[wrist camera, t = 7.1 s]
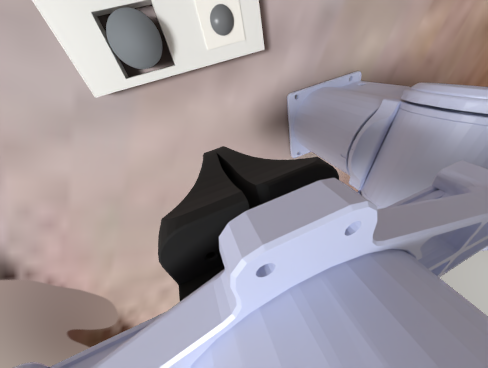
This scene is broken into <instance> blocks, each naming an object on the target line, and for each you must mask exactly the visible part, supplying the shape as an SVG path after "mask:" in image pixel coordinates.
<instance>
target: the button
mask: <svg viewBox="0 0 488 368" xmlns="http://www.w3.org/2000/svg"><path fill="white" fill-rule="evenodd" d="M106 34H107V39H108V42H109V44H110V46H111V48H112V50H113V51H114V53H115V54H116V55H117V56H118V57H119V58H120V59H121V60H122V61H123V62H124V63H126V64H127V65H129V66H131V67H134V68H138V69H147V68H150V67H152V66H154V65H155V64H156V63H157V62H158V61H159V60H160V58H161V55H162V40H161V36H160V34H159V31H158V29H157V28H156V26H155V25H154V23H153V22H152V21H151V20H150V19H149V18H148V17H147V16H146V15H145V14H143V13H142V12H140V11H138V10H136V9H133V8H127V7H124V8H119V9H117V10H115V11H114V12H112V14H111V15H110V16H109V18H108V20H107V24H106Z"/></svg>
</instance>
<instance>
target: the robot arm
mask: <svg viewBox="0 0 488 368" xmlns="http://www.w3.org/2000/svg"><path fill="white" fill-rule="evenodd" d="M349 78H350V79H349ZM296 94H297V97H296V99H295V95H296ZM287 106H288V121H289V136H290V150H291V156H292V157H293V158H296V157H299V156H301V155H304V154H306V153H309V152H313V153H315V154H316V155H318V156H319V157H321V158H322V159H324V160H326V161H327V162H329V163H330V164H332V165H334V166H335V167H337V168H338V169H340V170H342V171H343V172H345V173H346V174H348V175H350V180H349V184H350V185H352V186H353V187H355V188H356V189H358V190H359V191H358V192H356V191H355V190H353V189H352V188H350V187H349V186H347V185H346V184H344V183H343V182H341V181H339V175H338V173H337V170H336V169H335V168H334V167H333V166H331V165H329V164H328V163H326V162H325V161H323V160H322V159H320V158H318V157H313V158H305V159H296V160H271V159H262V158H256V157H252V156H248V155H245V154H242V153H239V152H236V151H234V150H231V149H229V148H227V147H224V146H223V147H220V148H217V149H215V150H212V151H209V152H206V153H204V155H203V163H202V168H201V171H200V174H199V176H198V179H197V181H196V183H195V185H194V187H193V188H192V189H191V191H190V192H189V193H188V195H187V196H186V197H185V198H184V200H183V201H182V202H181V203H180V204H179V205H178V206H177V207H176V208H174V209H173V210H172V211H171V212H170V213H168V214H167V215H166V216H165V217H164V218H162V220H161V226H160V231H159V240H158V256H159V262H160V264H161V265H162V267H163V268H164V269H165V270H166V271H167V272H168V274H169V275H170V276H171V277H172V278H173V279H174V280H175V281H176V282H177V284H178V285H179V296H180V302H179V303H178V304H176V305H175V306H173V307H172V308H171V309H169V310H168V311H166V312H164V313H162V314H160V315H158V316H156V317H154V318H152V319H150V320H148V321H145V322H143V323H141V324H139V325H137V326H135V327H133V328H131V329H129V330H126V331H124V332H122V333H120V334H118V335H116V336H114V337H112V338H110V339H108V340H105V341H103V342H101V343H99V344H97V345H95V346H93V347H91V348H89V349H87V350H84V351H82V352H80V353H78V354H76V355H74V356H72V357H70V358H68V359H65V360H63V361H61V362H59V363H57V364H55V365H53V366H51V367H48V366H47V365H45V364H42V363H37V362H30V363H24V364H21V365H18V366H16V367H13V368H488V316H487V315H485V314H484V313H483V312H481V311H480V310H479V309H478V308H477V307H475V306H474V305H473V304H472V303H470V302H469V301H468V300H467V299H465V298H464V297H463V296H462V295H460V294H459V293H458V292H456V291H455V290H454V289H453V288H451V287H450V286H449V285H448V284H446V283H445V282H444V281H443V280H441V279H440V278H439V277H441V276H442V275H444V274H445V273H447V272H448V271H450V270H451V269H453V268H454V267H456V266H457V265H458V264H460V263H462V262H463V261H465V260H466V259H468V258H469V257H471V256H472V255H474V254H476V253H477V252H479V251H484V250H488V87H481V86H468V85H456V84H442V83H424V82H420V83H417V84H416V85H414V86H412V87H408V86H401V85H392V84H383V83H375V82H366V81H361V72H360V71H356V72H353V73H350V74H347V75H344V76H341V77H338V78H334V79H331V80H328V81H325V82H322V83H319V84H316V85H313V86H310V87H307V88H304V89H301V90H298V91H295V92H292V93H290V94H289V95H288V96H287ZM298 152H299V153H298ZM297 153H298V154H297Z"/></svg>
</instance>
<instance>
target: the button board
mask: <svg viewBox="0 0 488 368" xmlns="http://www.w3.org/2000/svg"><path fill="white" fill-rule="evenodd" d="M32 1H33V2H34V4H35V5H36V7H37V8H38V10H39V12H40V13H41V15H42V16H43V18H44V19H45V21H46V22H47V24H48V25H49V27H50V29H51V30H52V32H53V33H54V35H55V36H56V38H57V39H58V41H59V42H60V44H61V46H62V47H63V49H64V50H65V52H66V53H67V55H68V56H69V58H70V59H71V61H72V63H73V64H74V66H75V67H76V69H77V70H78V72H79V73H80V75H81V76H82V78H83V80H84V81H85V83H86V84H87V86H88V87H89V89H90V90H91V92H92V93H93V95H94V97H95V98H96V97H99V96H103V95H106V94H110V93H113V92H117V91H120V90H124V89H128V88H131V87H135V86H138V85H142V84H145V83H149V82H152V81H156V80H159V79H163V78H166V77H170V76H173V75H177V74H180V73H184V72H187V71H191V70H194V69H198V68H201V67H205V66H209V65H212V64H216V63H219V62H223V61H226V60H230V59H233V58H237V57H240V56H244V55H247V54H251V53H254V52H258V51H261V50H265V49H264V40H263V32H262V24H261V15H260V7H259V0H32ZM151 4H152V6H153V8H154V11H155V14H156V17H157V19H158V22H159V25H160V27H161V30H162V33H163V35H164V38H165V41H166V43H167V46H168V49H169V52H170V54H171V57H172V60H173V62H174V65H172V66H168V67H165V68H161V69H158V70H154V71H150V72H147V73H143V74H139V75H136V76H132V77H128V75H127V73H126V71H125V69H124V67H123V65H122V63H121V62H120V60H119V58H118V56H117V55H116V54H115V53H114V51H113V50H112V48H111V46H110V44H109V42H108V39H107V34H106V32H105V30H104V28H103V27H102V25H101V23H100V21H99V19H98V17H97V16H101V15H106V14H110V13H112V12H114V11H115V10H117V9H119V8H124V7H127V8H137V7H142V6H146V5H151Z"/></svg>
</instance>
